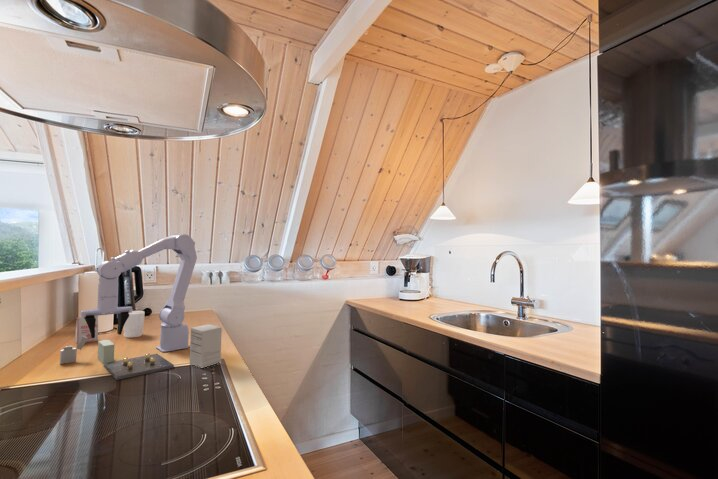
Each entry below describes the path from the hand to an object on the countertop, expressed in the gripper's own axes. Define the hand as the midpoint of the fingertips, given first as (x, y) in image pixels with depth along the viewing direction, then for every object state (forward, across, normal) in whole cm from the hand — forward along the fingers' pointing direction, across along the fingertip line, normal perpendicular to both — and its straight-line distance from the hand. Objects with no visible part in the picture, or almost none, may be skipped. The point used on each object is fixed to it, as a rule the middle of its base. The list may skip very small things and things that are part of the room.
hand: (106, 335), depth 126 cm
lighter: (+8, +8, -5) cm, 13 cm away
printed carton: (+8, 0, -31) cm, 32 cm away
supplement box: (+8, -23, +26) cm, 36 cm away
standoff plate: (+8, -6, +15) cm, 18 cm away
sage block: (+8, 0, 0) cm, 8 cm away
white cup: (+8, -16, -29) cm, 34 cm away
